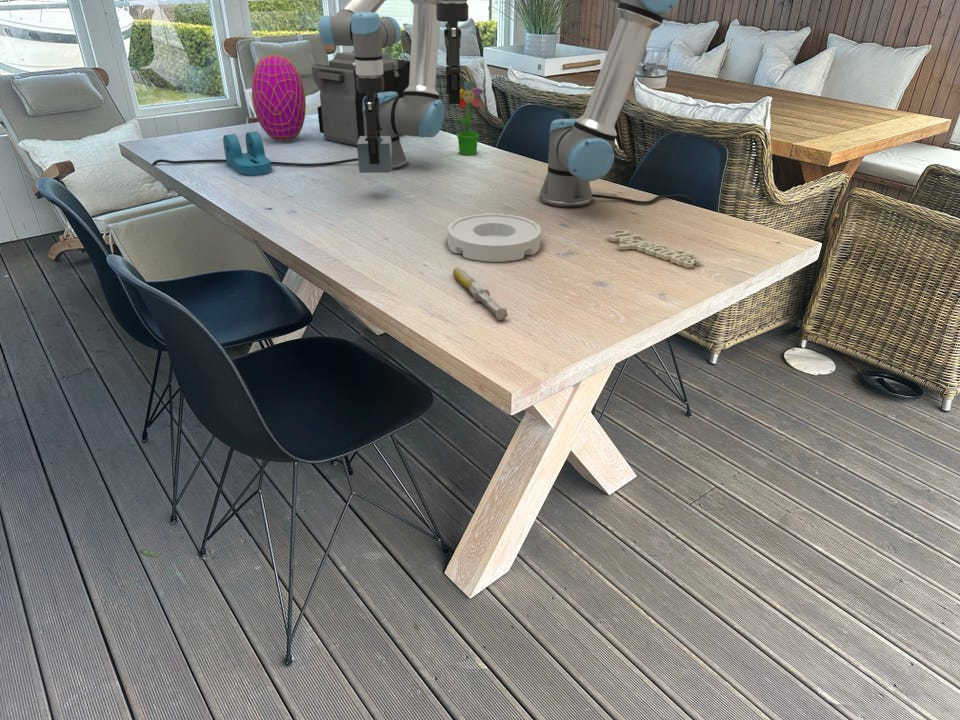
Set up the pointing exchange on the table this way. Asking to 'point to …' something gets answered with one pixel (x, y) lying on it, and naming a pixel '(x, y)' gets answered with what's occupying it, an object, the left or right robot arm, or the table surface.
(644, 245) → the decorative sign
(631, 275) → the table surface
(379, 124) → the left robot arm
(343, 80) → the electronic device
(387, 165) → the block
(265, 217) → the table surface
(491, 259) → the ashtray
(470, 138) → the potted flower
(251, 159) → the camera mount
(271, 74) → the decorative egg
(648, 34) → the right robot arm
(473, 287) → the syringe
